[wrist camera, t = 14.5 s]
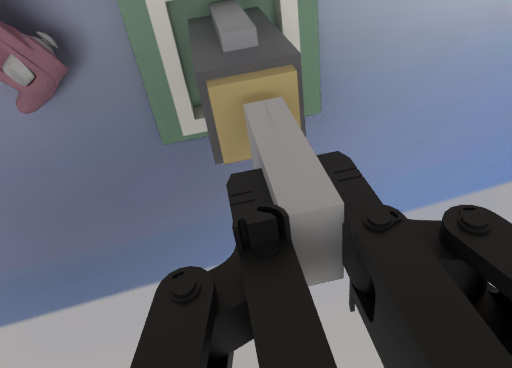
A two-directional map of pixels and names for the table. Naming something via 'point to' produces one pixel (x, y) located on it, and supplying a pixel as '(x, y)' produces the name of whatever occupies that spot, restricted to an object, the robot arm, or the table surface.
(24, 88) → the video game controller
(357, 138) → the table surface
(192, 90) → the green square tray
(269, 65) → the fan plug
